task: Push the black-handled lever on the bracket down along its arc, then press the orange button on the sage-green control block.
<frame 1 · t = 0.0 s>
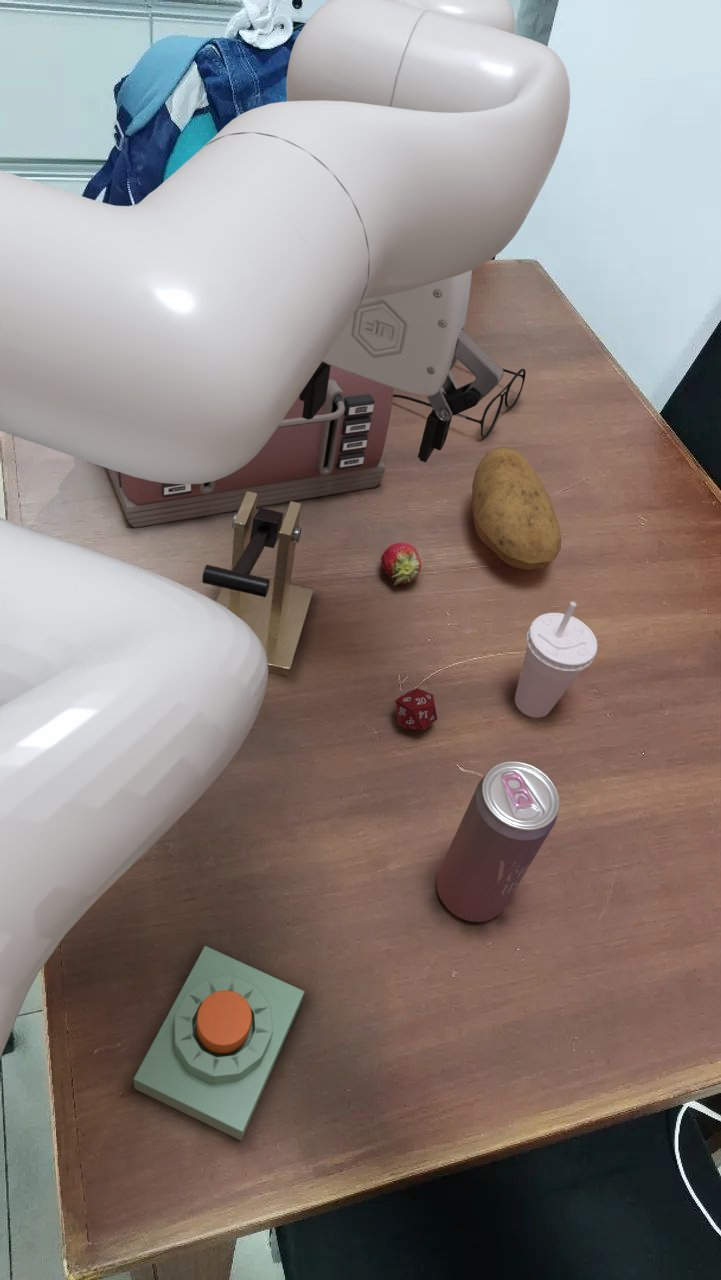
hand: (370, 431, 71), 26 cm above the table, tool pointing down, fingers open, 9 cm apart
bracket: (257, 625, 91), on the table
decorative stone: (389, 332, 132), on the table
fruit: (396, 576, 99), on the table
button: (224, 1021, 61), point 4 cm above the table, slide at 0.1 cm
lever: (253, 551, 76), point 15 cm above the table, hinge at 20.0°
smoothie: (532, 703, 90), on the table
dice: (411, 723, 86), on the table
beverage can: (469, 892, 75), on the table
glasses: (451, 399, 123), on the table
button block: (221, 1043, 64), on the table
toaster: (223, 435, 110), on the table
potato: (501, 545, 105), on the table
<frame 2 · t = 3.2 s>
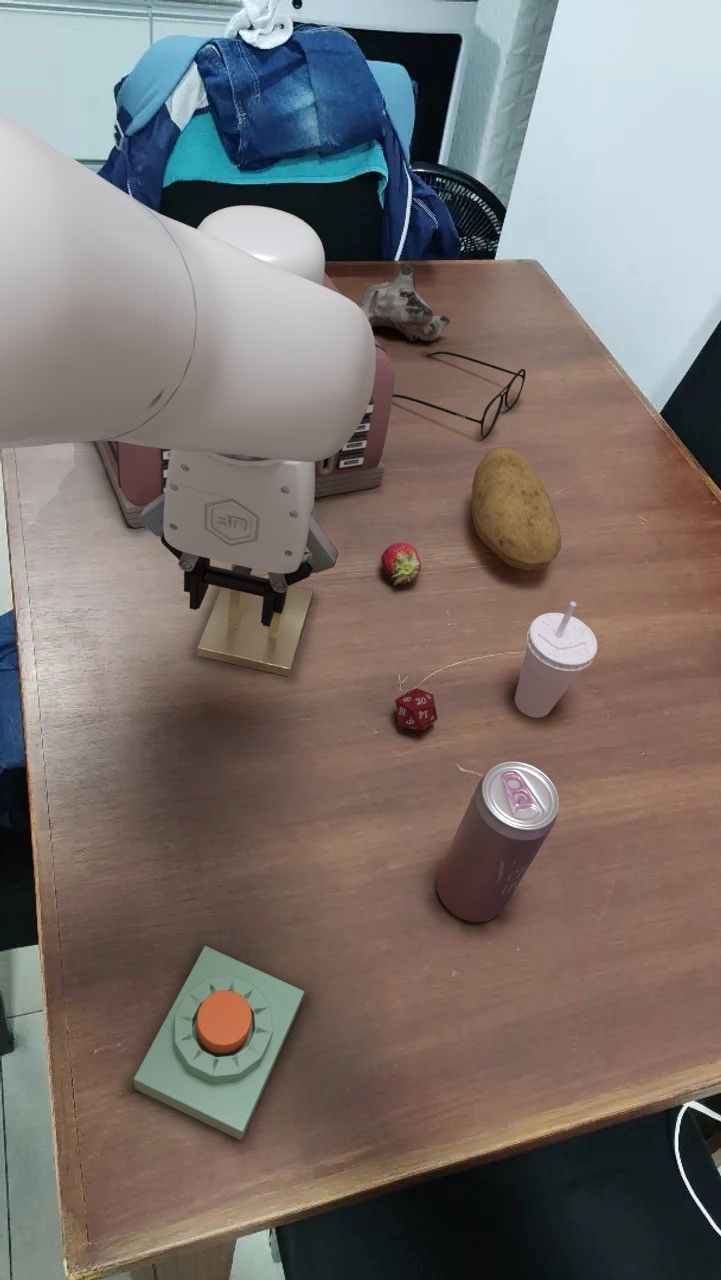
hand: (234, 604, 72), 15 cm above the table, tool pointing down, fingers closed on lever, 5 cm apart
lever: (253, 551, 76), point 15 cm above the table, hinge at 20.0°, touching gripper
everything else where it was.
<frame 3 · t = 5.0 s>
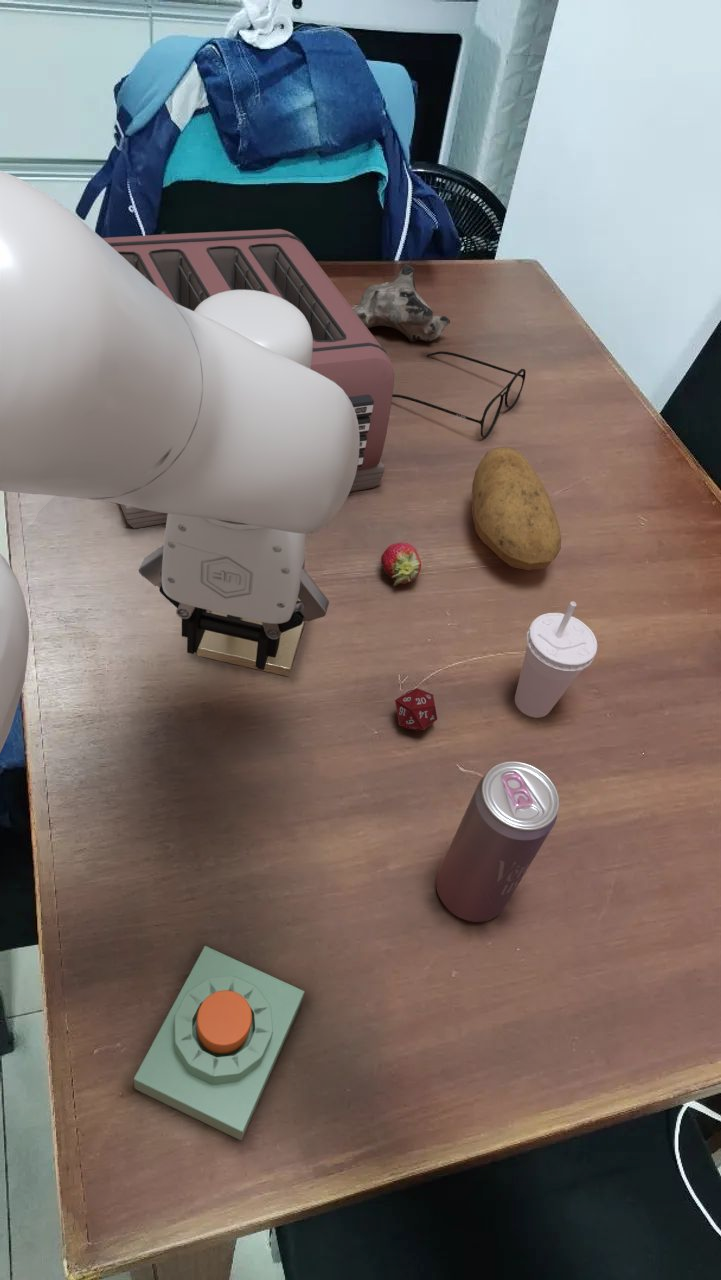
hand: (230, 647, 76), 10 cm above the table, tool pointing down, fingers closed on lever, 5 cm apart
lever: (250, 572, 78), point 13 cm above the table, hinge at -2.1°, touching gripper
everything else where it was.
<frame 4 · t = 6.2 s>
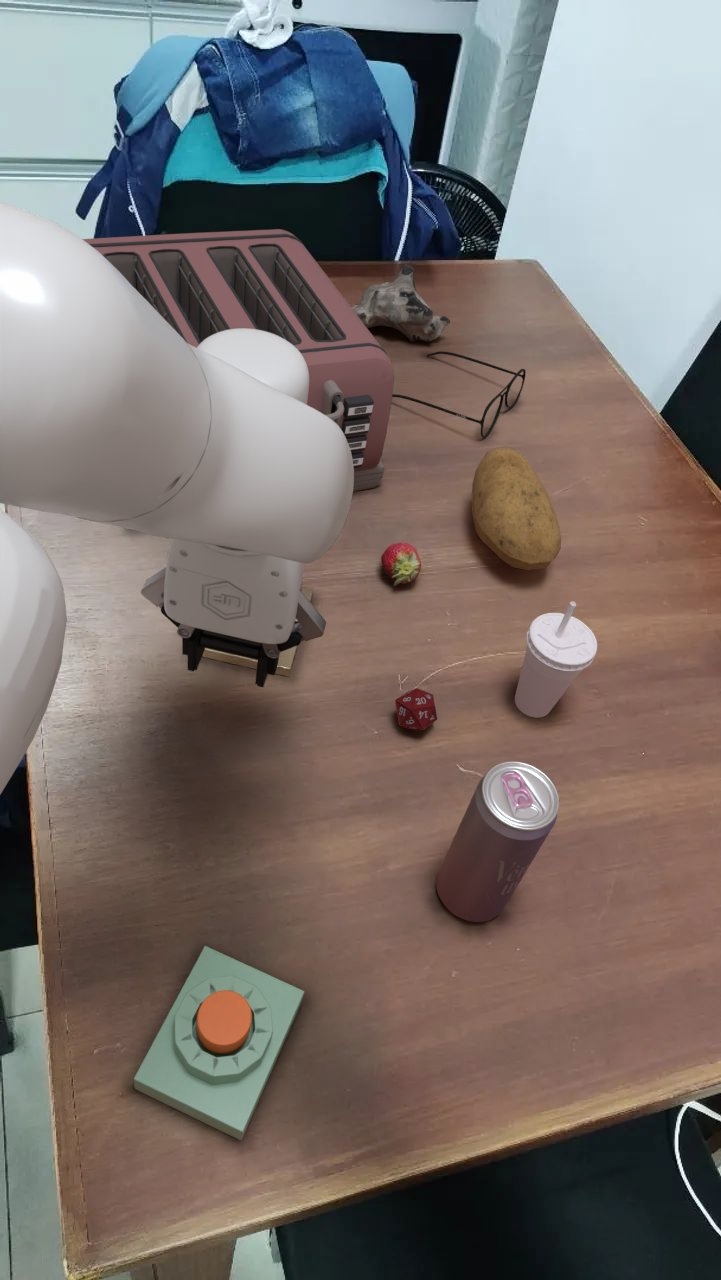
hand: (230, 665, 78), 7 cm above the table, tool pointing down, fingers open, 5 cm apart
lever: (250, 581, 79), point 12 cm above the table, hinge at -15.0°
everything else where it was.
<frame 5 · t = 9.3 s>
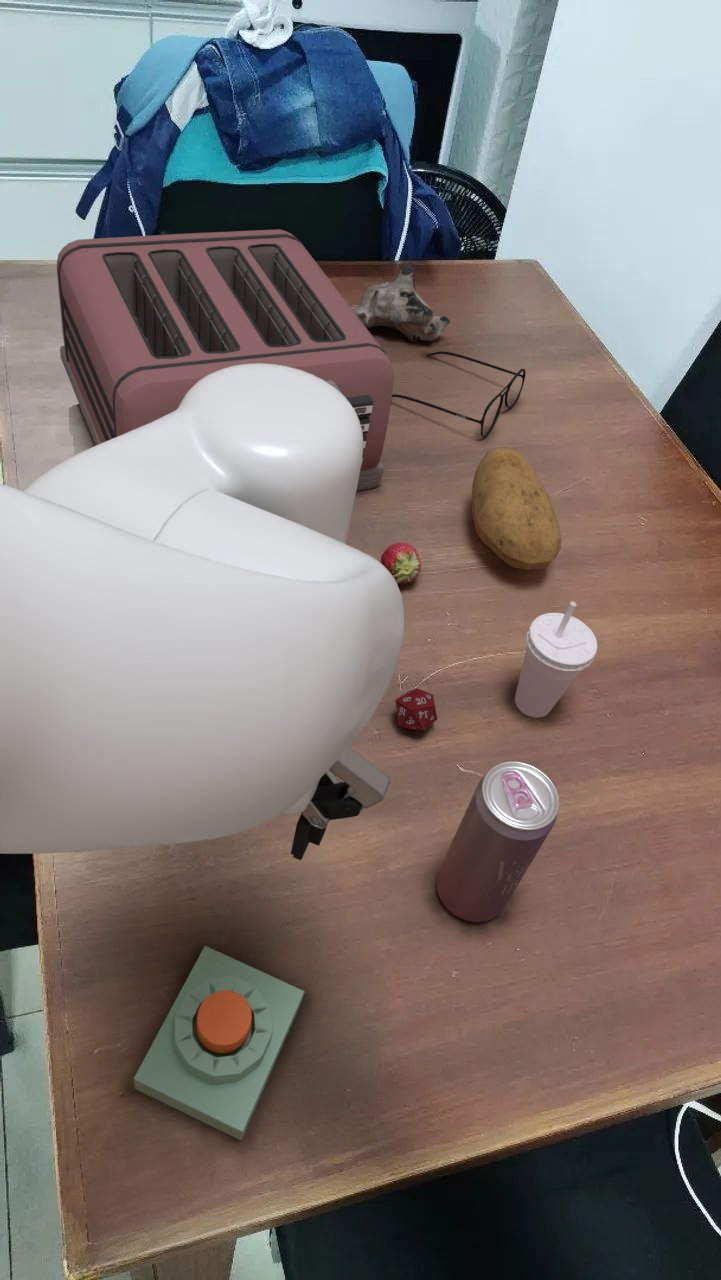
hand: (232, 810, 56), 18 cm above the table, tool pointing down, fingers open, 9 cm apart
nothing on the table moved.
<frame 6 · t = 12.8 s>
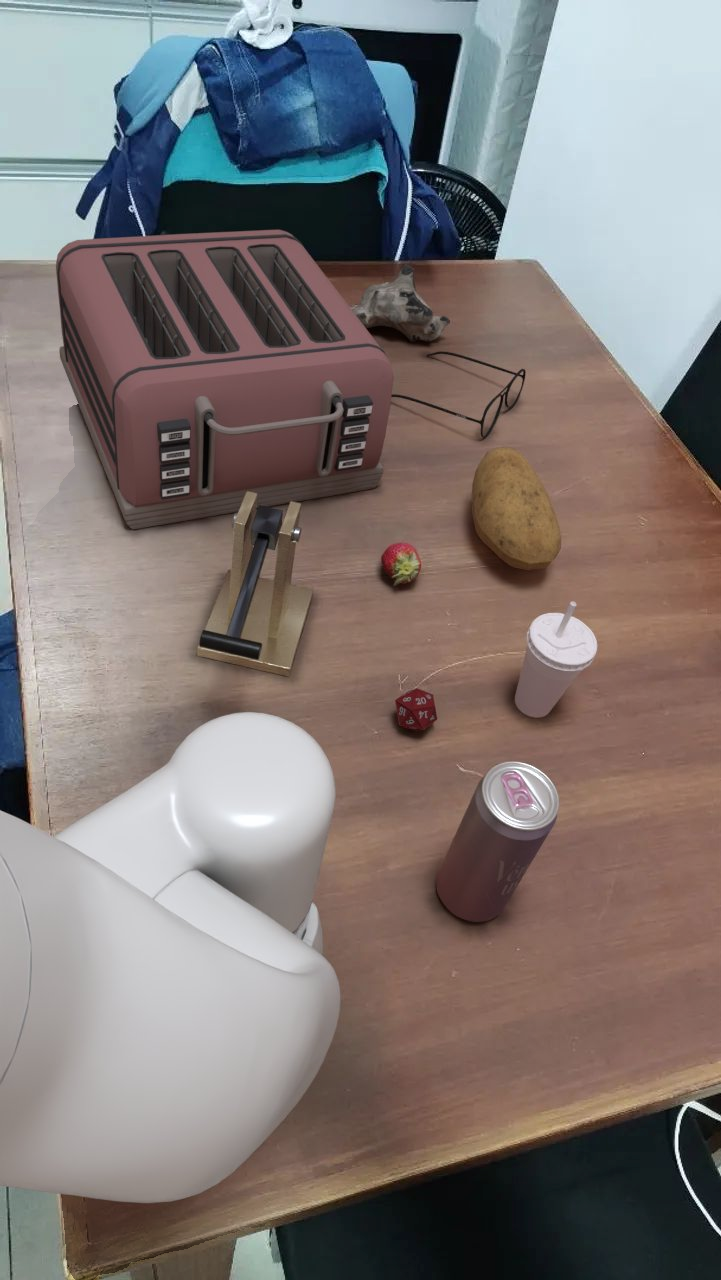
hand: (226, 1017, 61), 5 cm above the table, tool pointing down, fingers closed
button: (223, 1025, 62), point 4 cm above the table, slide at -0.8 cm, touching gripper
everything else where it was.
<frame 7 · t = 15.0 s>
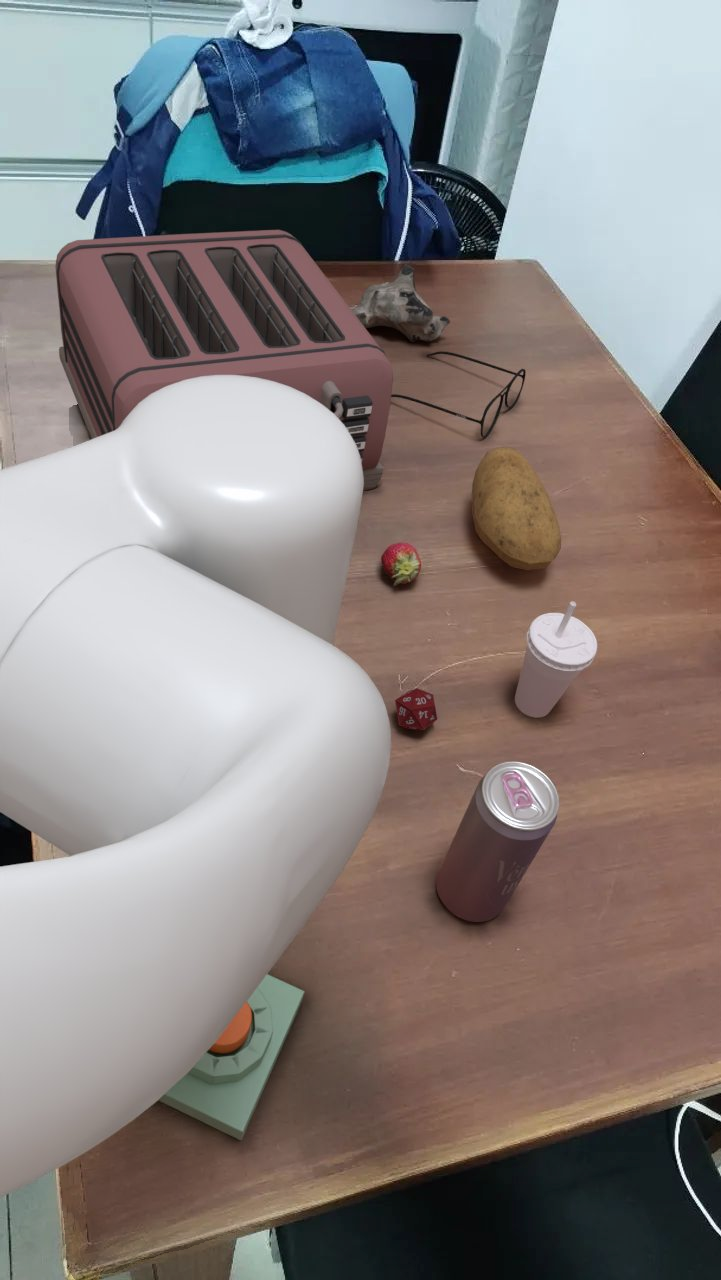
hand: (204, 914, 48), 22 cm above the table, tool pointing down, fingers closed
button: (224, 1021, 61), point 4 cm above the table, slide at 0.1 cm
everything else where it was.
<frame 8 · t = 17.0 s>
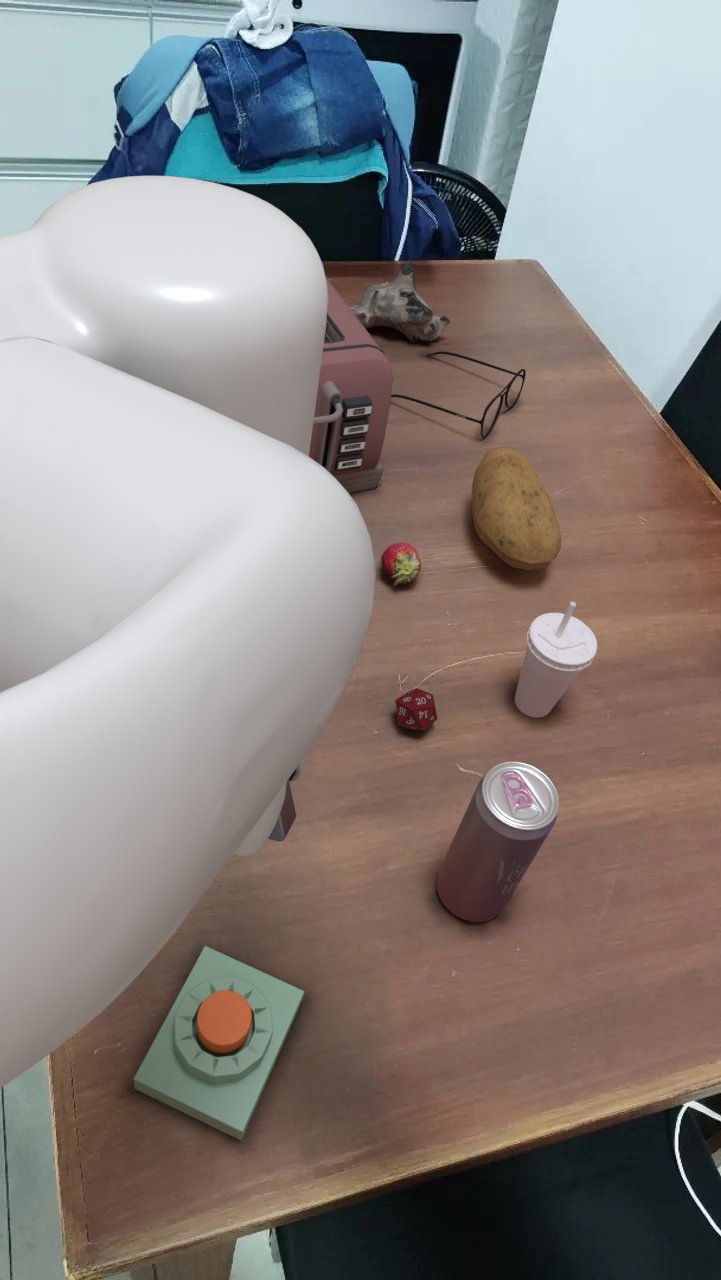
hand: (177, 851, 44), 27 cm above the table, tool pointing down, fingers closed
nothing on the table moved.
at the end: lever at -15° (first picture: +20°); button pushed in 1.1 cm at the most during the clip, back to where it started at the end; button slide at 0.1 cm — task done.
